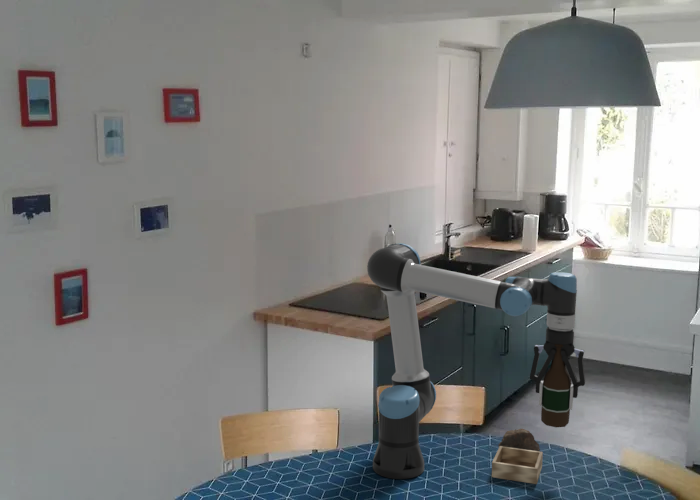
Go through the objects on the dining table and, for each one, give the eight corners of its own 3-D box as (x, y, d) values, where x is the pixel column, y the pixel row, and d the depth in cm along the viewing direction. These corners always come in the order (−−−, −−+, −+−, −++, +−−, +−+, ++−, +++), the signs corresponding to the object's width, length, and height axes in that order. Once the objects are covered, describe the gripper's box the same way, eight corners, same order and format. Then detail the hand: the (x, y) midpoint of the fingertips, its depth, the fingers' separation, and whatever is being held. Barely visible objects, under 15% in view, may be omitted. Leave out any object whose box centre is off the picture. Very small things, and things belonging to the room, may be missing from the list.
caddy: (491, 477, 213) (492, 462, 212) (499, 459, 224) (499, 445, 224) (536, 484, 208) (537, 469, 208) (542, 466, 220) (542, 451, 219)
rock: (545, 461, 226) (535, 447, 236) (548, 434, 225) (538, 421, 235) (498, 458, 225) (490, 445, 235) (501, 431, 224) (493, 419, 234)
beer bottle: (570, 429, 209) (575, 346, 205) (541, 426, 210) (546, 344, 206) (567, 418, 216) (572, 338, 212) (540, 416, 218) (544, 336, 214)
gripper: (521, 327, 209) (517, 405, 212) (598, 335, 202) (592, 415, 205) (524, 321, 216) (520, 396, 219) (599, 328, 209) (594, 406, 212)
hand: (555, 405), depth 212 cm, fingers closed on beer bottle, 8 cm apart
